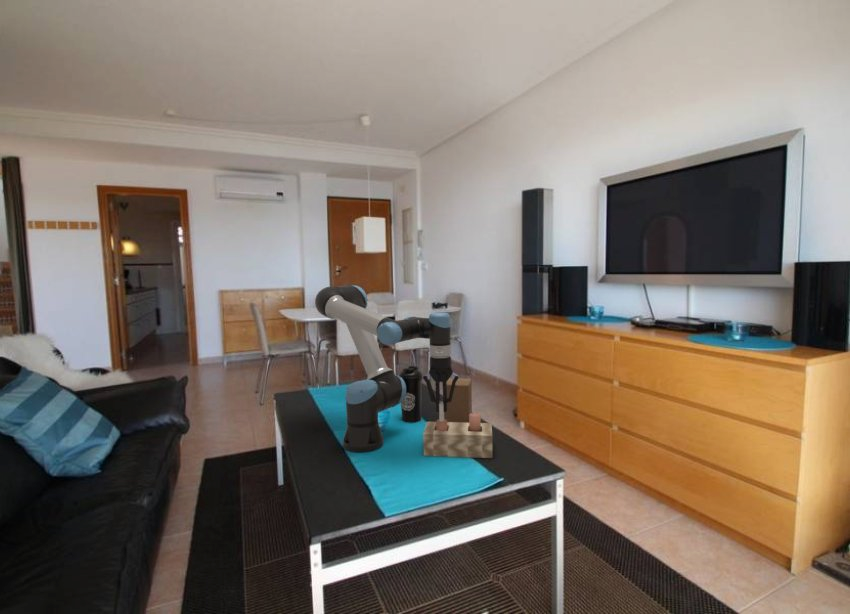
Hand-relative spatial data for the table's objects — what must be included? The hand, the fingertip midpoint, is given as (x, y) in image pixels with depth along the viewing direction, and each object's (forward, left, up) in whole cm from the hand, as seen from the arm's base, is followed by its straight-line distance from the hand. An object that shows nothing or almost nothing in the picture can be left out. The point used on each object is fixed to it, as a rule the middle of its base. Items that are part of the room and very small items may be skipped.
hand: (441, 420), depth 158 cm
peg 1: (0, 0, -9) cm, 9 cm away
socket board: (+6, 0, -11) cm, 12 cm away
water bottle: (-16, +30, -11) cm, 36 cm away
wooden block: (+5, +20, -11) cm, 23 cm away
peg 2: (+12, 0, -6) cm, 13 cm away
